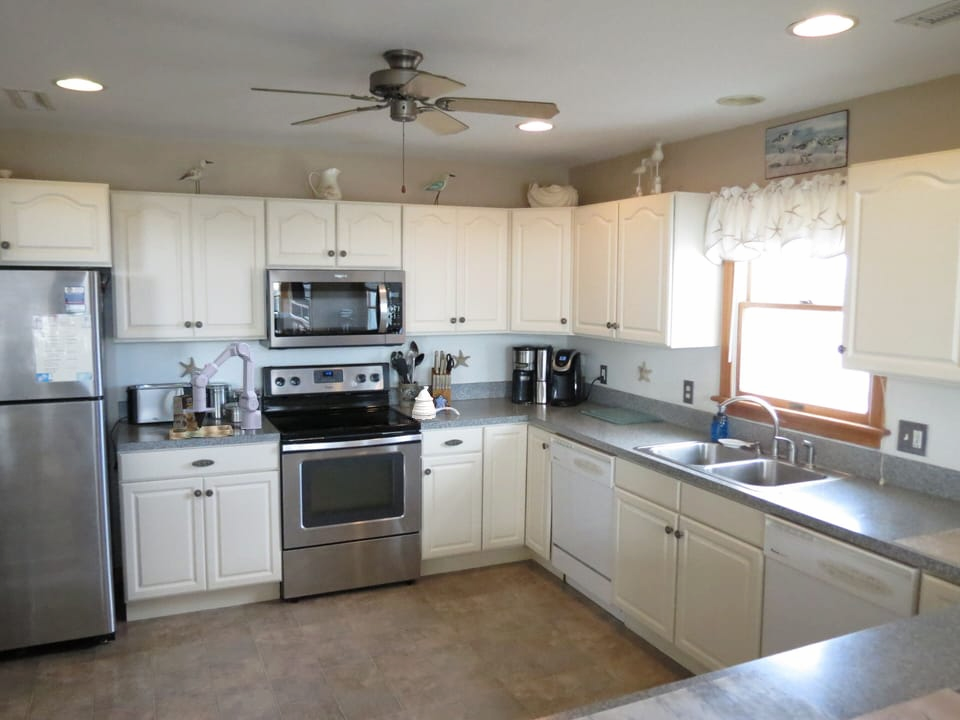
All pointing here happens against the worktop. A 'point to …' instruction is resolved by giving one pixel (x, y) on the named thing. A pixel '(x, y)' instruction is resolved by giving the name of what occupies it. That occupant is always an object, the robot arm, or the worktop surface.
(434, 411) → the honey pot
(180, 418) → the coffee box
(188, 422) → the walnut block
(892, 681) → the worktop surface
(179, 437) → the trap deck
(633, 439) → the worktop surface
